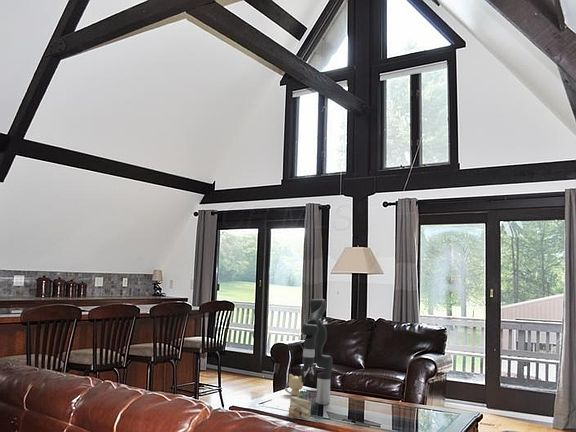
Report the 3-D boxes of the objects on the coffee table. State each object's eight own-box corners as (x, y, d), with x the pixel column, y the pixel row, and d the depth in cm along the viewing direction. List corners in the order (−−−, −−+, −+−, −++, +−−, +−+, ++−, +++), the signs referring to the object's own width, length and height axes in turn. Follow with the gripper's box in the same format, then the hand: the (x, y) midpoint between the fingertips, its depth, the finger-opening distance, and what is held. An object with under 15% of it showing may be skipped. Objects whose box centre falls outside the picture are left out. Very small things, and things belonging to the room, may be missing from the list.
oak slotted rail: (305, 412, 337) (306, 402, 338) (310, 413, 335) (310, 404, 335) (288, 417, 323) (289, 407, 324) (292, 418, 321) (293, 408, 322)
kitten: (307, 395, 383) (308, 374, 385) (302, 398, 374) (303, 377, 376) (289, 392, 389) (290, 372, 391) (283, 394, 380) (285, 374, 382)
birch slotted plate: (292, 412, 335) (293, 396, 336) (310, 417, 326) (311, 401, 327) (289, 413, 332) (290, 397, 333) (306, 418, 323) (307, 402, 324)
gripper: (310, 353, 338) (309, 379, 336) (297, 355, 327) (295, 382, 325) (319, 355, 333) (318, 381, 331) (306, 357, 322) (305, 384, 321)
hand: (307, 381), depth 328 cm, fingers open, 8 cm apart
